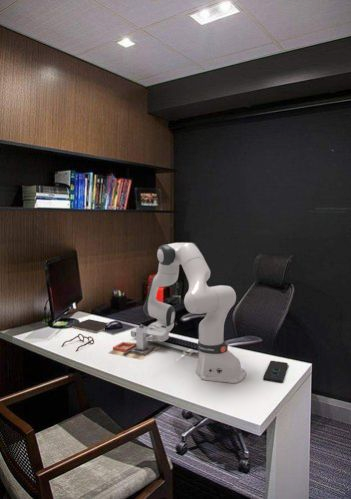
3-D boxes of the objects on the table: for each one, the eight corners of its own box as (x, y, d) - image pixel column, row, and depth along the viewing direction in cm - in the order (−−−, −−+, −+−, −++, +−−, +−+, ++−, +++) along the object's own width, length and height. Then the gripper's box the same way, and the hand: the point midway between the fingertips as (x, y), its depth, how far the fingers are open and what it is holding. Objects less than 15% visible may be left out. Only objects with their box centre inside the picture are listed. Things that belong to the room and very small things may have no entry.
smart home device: (262, 377, 156) (270, 360, 175) (262, 381, 157) (270, 363, 175) (282, 380, 153) (288, 362, 171) (282, 384, 153) (288, 366, 171)
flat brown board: (160, 350, 194) (160, 344, 193) (141, 362, 178) (141, 356, 177) (127, 344, 203) (127, 339, 203) (107, 355, 187) (107, 350, 187)
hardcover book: (96, 334, 224) (95, 330, 223) (71, 328, 237) (70, 324, 236) (114, 327, 237) (114, 324, 237) (89, 322, 250) (89, 318, 249)
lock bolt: (147, 350, 189) (146, 324, 188) (143, 353, 185) (142, 326, 184) (141, 349, 191) (140, 323, 189) (136, 352, 187) (135, 325, 186)
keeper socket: (136, 346, 195) (136, 344, 195) (126, 352, 187) (126, 349, 187) (122, 344, 199) (122, 341, 199) (112, 349, 191) (112, 347, 191)
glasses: (94, 345, 205) (94, 336, 204) (75, 352, 194) (75, 343, 194) (79, 340, 212) (79, 332, 212) (60, 347, 202) (60, 338, 201)
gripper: (138, 323, 203) (124, 330, 191) (170, 327, 194) (157, 335, 182) (139, 334, 204) (124, 342, 192) (171, 339, 194) (158, 347, 182)
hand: (140, 339), depth 187 cm, fingers closed on lock bolt, 4 cm apart
